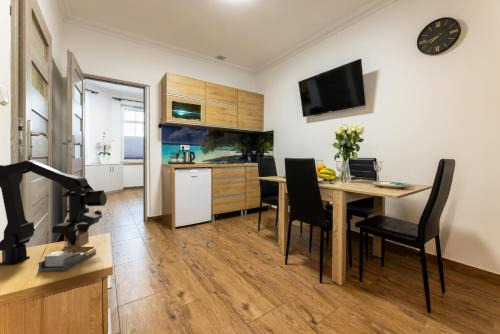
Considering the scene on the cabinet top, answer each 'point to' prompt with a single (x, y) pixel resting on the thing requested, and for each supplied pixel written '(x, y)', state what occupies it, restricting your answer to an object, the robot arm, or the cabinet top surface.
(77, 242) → the housing
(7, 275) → the cabinet top surface
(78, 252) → the grey tray
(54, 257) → the light grey block
